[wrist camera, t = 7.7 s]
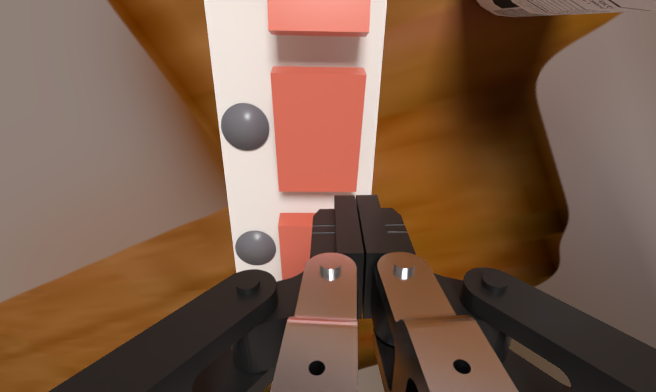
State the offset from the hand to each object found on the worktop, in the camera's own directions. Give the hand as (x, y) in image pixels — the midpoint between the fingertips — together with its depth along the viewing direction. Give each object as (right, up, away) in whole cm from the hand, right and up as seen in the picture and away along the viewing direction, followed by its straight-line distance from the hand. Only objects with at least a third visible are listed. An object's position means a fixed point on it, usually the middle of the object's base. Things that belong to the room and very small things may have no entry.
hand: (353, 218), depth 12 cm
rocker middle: (-2, +5, +13) cm, 14 cm away
